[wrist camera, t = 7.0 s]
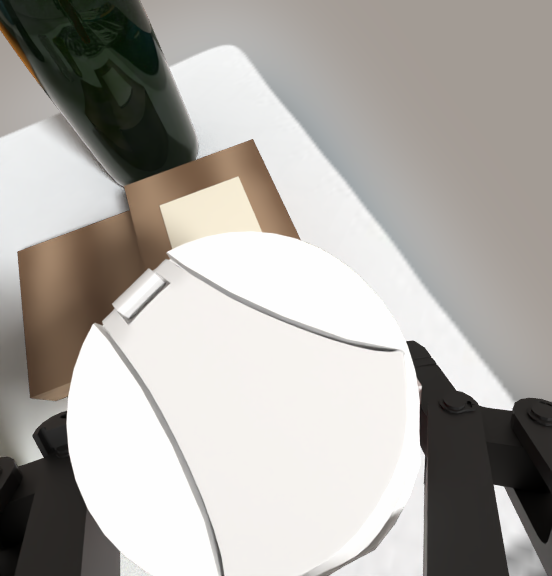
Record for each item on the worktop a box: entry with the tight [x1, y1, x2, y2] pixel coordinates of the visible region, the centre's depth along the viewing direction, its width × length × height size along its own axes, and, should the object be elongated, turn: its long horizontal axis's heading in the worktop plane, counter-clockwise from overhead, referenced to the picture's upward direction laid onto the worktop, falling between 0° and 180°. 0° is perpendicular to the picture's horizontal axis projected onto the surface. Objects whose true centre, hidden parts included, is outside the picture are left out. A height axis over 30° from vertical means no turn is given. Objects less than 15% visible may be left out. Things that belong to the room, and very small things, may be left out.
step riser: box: [17, 139, 300, 401], centre depth 30 cm, size 24×14×6 cm, turn 111°
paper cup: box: [66, 231, 420, 576], centre depth 13 cm, size 8×8×14 cm
